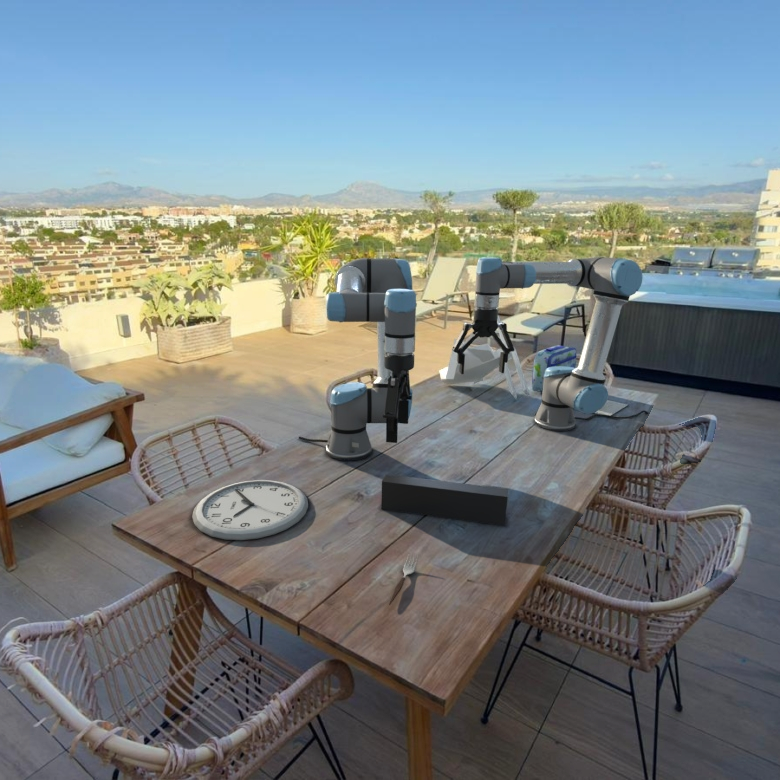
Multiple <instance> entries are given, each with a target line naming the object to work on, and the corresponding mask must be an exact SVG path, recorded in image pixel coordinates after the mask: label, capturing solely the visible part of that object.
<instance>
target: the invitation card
mask: <svg viewBox="0 0 780 780" xmlns="http://www.w3.org/2000/svg"><path fill="white" fill-rule="evenodd" d="M628 406H629V404H627V403H623V402H618V401H614V400H609V399H607V401H606V403H605V405H604V406H603V407H602V408H601V409H600V410H598V411H597V412H595V413H594V414H595V415H596V414H603V415H609V416H614V414H616V413H617V412H619V411H621V410H623V409H624V408H626V407H628Z"/></svg>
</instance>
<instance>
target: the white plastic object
mask: <svg viewBox="0 0 780 780" xmlns="http://www.w3.org/2000/svg"><path fill="white" fill-rule="evenodd" d="M500 323H502V321H501V318H500V315H498V319H497V324H500ZM497 332H498V335H499V338H500V340H501V341H502V342H503V344H504V345H505V346H506V348H508V347H507V344H506V342H505V339H504V337H503V334H502V332H501V330H500V329H499V327H498V328H497ZM456 340H457V338H454V340H453V344H452V347H453V346H454V344H455V342H456ZM464 342H465V339H464V340H463V342H462V344H463V343H464ZM462 344H461V345H462ZM460 347H461V346H460ZM460 347H459V348H460ZM513 347H514V351H511V352H510V353H509V354H508V361H510V360H513V363H514V366H515V369H516V372H517V376H518V380H519V382H520V385H521V389H522V391H523V393H524V395H525V396H526V397H528V396H531V395H530V390H529V388H528V387H529V386H528V384H527V381H526V378H525V375H524V371H523V369H522V368H523V367H522V366H521V362H520V359H519V355H518V352H517V349H516V347H515V346H514V345H513ZM501 352H503V350H502V349H501V348H500V347H499V348H498V349H496V350H495V349H493V348H492V347H491V346H490V344H489V343H488V342H487V343H483V344H479V345H473V346H469V347H468V348H467V349H466V350H465V351H464V352H463V353H464V354H465V362H464V374H461V373H460V372H459V368H460V364H459V363H458V362H457V353H456V352H454V351H453V350H452V349H451V353H450V357H449V362H448V366H446V367H444V368H442V369H440V370H439V371H438V372H439V376H440V381H442V383H443V384H444V385H445V386H449V385H458V384H467V383H468V384H469V383H473V384H477V383H480V382H482V381H484V378H485V377H486V376H487V375H489V374H490V373H492V372H494V371H495V370H496V369H497V368H499V365H500V353H501ZM503 374H504V376H505V380H506V383H507V386H508V390H509V393H510V394H511V395H512V397H513V398H514V399H515V400H517V392H516V391H517V390H516V388H515V385H514V381H513V378H512V375H511V371H510V369H509V365H508V362H507V363H505V367H504V373H503Z"/></svg>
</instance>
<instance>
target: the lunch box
mask: <svg viewBox="0 0 780 780" xmlns="http://www.w3.org/2000/svg"><path fill="white" fill-rule="evenodd" d="M576 362H577V348H576V347H571V346H565V345H553V346H550V347H546V348H545V349H542V350H539V351H538V352H537V353H536V354H535V356H534V358H533V365H532V376H531V377H532V378H531V390H532V391H533V392H537V393H542V391H543V381H544V374H545V370H546V369H547V368H549V367H556V366H565V367H574V368H576V364H577V363H576Z"/></svg>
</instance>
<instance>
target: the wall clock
mask: <svg viewBox="0 0 780 780" xmlns="http://www.w3.org/2000/svg"><path fill="white" fill-rule="evenodd" d="M308 509H309V502H308V498H307V496H306V494H305V493H304V492H303V491H302V490H300V489H299V488H297V487H296V486H294V485H292V484H289V483H286V482H284V481H283V482H282V481H276V480H268V479H267V480H266V479H257V480H245V481H240V482H236V483H231V484H229V485H226V486H223V487H220V488H218V489H216V490H214V491H212V492H210V493H209V494H207V495H205V497H203V498H202V499H201V500H200V501H198V503H197V504H196V506H195V507H194V508H193V512H192V516H191V517H192V521H193V524H194V526H195V527H196V528H197V530H199V531H200V532H201V533H203V534H206V535H207V536H210V537H212V538H216V539H222V540H226V541H227V540H229V541H245V540H246V541H247V540H256V539H261V538H265V537H266V538H267V537H271V536H274V535H276V534H278V533H281V532H283V531H286V530H288V529H289V528H291V527H293V526H295V525H296V524H297V523H299V522H300V521H301V520H302V518H304V516H305V515H306V513H307V511H308Z"/></svg>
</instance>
